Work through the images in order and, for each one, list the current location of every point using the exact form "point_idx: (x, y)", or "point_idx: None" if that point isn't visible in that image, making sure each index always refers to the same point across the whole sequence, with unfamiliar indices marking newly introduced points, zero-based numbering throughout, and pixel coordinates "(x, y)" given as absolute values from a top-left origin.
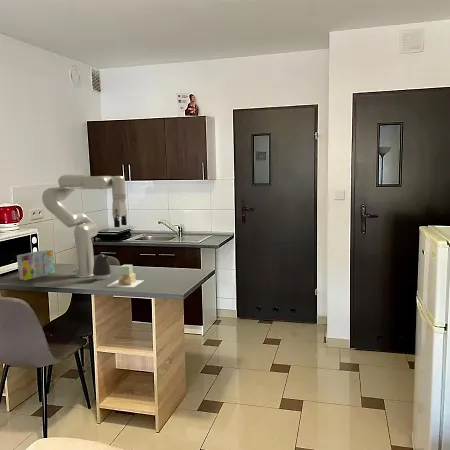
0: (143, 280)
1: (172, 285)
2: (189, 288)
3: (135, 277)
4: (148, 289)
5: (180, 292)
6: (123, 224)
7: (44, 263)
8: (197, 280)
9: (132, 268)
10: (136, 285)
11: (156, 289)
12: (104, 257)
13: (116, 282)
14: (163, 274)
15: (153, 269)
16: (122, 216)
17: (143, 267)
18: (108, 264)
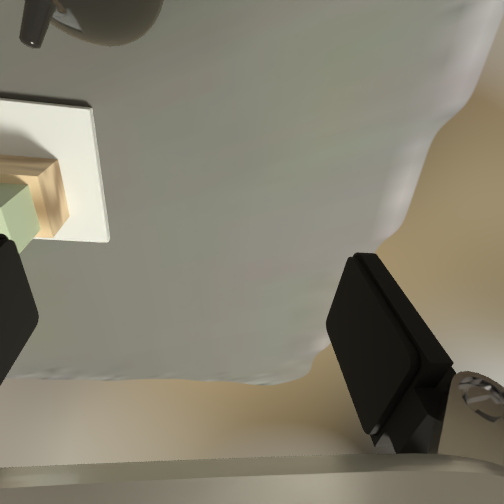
0: (104, 240)
1: (86, 334)
2: (65, 377)
3: (60, 226)
4: None
5: None
6: (339, 295)
7: None
8: (166, 376)
9: (25, 243)
10: None
11: None
12: (25, 2)
13: (26, 123)
14: (250, 273)
15: (353, 212)
16: (477, 449)
17: (414, 151)
18: (82, 36)
